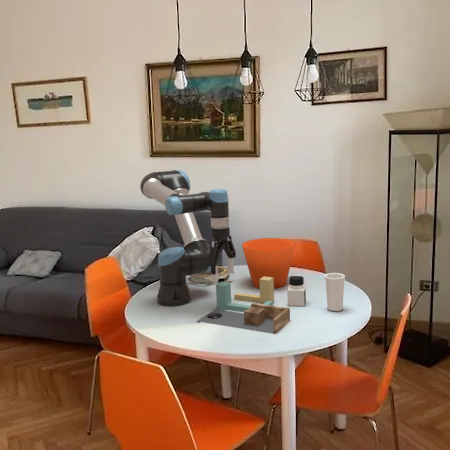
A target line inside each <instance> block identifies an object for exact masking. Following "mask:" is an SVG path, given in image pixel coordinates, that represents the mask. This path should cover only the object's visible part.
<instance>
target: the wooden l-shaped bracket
mask: <svg viewBox="0 0 450 450" xmlns="http://www.w3.org/2000/svg"><path fill="white" fill-rule="evenodd" d="M250 306H251V307H257V308H264V309H265V318H267V319H273V327H274V333H276V334H278V333H279V332H280V331H281V330H282V329H283V328H284V327H285V326H286V325H287V324H288V323H289V322H290V321H291V309H290V307H284V306H283V307H282V306H275V305H273V306H270V305H263V304H260V303H255V302H251V304H250ZM280 329H281V330H280Z"/></svg>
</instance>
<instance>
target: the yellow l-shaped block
mask: <svg viewBox="0 0 450 450" xmlns="http://www.w3.org/2000/svg"><path fill="white" fill-rule="evenodd" d="M259 280H260V288H259V295H258V294H250V293H242V292H236V293H234V294H233V296H234V297H233V298H234V300H235V301H241V302H247V303H248V302H249V303H255V304H262V305H263V304H264V303H265V302H266V301H273V304H274V302H275V289H274V279H273V277H262V278H261V279H259Z"/></svg>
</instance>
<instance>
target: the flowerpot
mask: <svg viewBox="0 0 450 450" xmlns="http://www.w3.org/2000/svg"><path fill="white" fill-rule="evenodd" d="M295 244H296V242H295V241H293V240H291V239H287V238H281V237H280V238H279V237H266V238H265V237H264V238H261V237H260V238H256V239H255V238H254V239H250V240H246V241H244V242H243V243H242V244H241V247H242V251H243V254H244V258H245V262H246V264H247V268H248V272H249V275H250V279H251V283H252V286H253V287H255V288H256V289H260V280H259V279H261V278H262V277H273V279H274V290H276V289H281V288H284V287H285V286H286V285H287V283H288V280H289V274H290V269H291V264H292V260H293V255H294V249H295V246H296V245H295Z"/></svg>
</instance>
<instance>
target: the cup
mask: <svg viewBox="0 0 450 450" xmlns="http://www.w3.org/2000/svg"><path fill="white" fill-rule="evenodd" d="M324 279H325V290H326V291H325V292H326V304H327V308H326V309H327V310H328V311H332V312H340V311H342V310H343V308H344V294H345V293H344V290H345V280H346V275H345V274H343V273H340V272H330V273H326V274H324Z"/></svg>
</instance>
